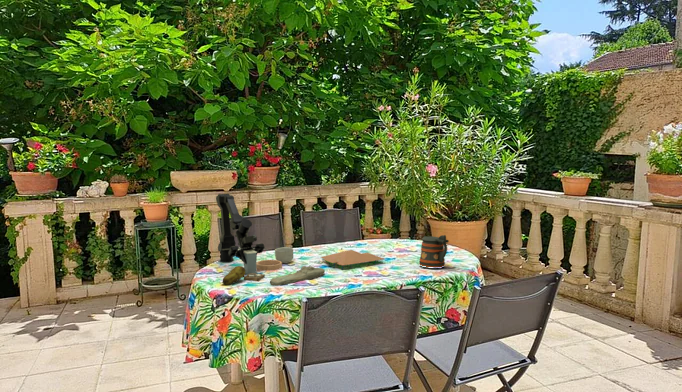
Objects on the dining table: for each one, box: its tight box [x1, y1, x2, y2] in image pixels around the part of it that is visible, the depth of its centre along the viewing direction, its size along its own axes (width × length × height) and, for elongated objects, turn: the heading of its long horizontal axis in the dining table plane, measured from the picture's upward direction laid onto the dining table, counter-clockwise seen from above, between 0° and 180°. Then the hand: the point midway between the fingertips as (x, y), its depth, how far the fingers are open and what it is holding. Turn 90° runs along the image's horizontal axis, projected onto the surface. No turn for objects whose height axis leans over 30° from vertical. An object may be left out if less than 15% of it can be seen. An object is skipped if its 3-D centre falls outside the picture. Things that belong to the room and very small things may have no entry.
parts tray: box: [243, 273, 266, 282], centre depth 254 cm, size 8×8×2 cm
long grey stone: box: [269, 265, 325, 287], centre depth 256 cm, size 35×5×10 cm
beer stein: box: [418, 234, 449, 267], centre depth 284 cm, size 19×15×20 cm
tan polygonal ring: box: [256, 259, 283, 271], centre depth 278 cm, size 14×14×3 cm
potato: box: [222, 265, 246, 286], centre depth 247 cm, size 8×13×8 cm, turn 127°
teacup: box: [274, 246, 294, 264], centre depth 293 cm, size 14×11×8 cm
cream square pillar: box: [243, 250, 258, 276], centre depth 263 cm, size 5×5×13 cm
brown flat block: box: [320, 249, 385, 271], centre depth 292 cm, size 23×33×8 cm
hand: (251, 263), depth 262 cm, fingers closed on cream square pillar, 5 cm apart
